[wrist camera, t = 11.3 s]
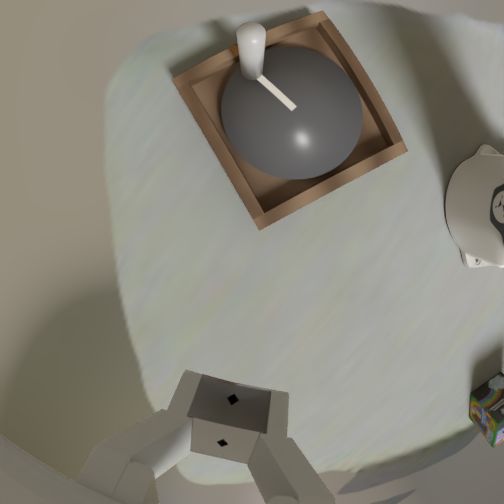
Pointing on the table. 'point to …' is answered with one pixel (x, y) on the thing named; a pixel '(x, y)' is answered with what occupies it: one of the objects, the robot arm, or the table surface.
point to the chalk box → (489, 409)
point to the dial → (289, 108)
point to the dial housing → (274, 188)
